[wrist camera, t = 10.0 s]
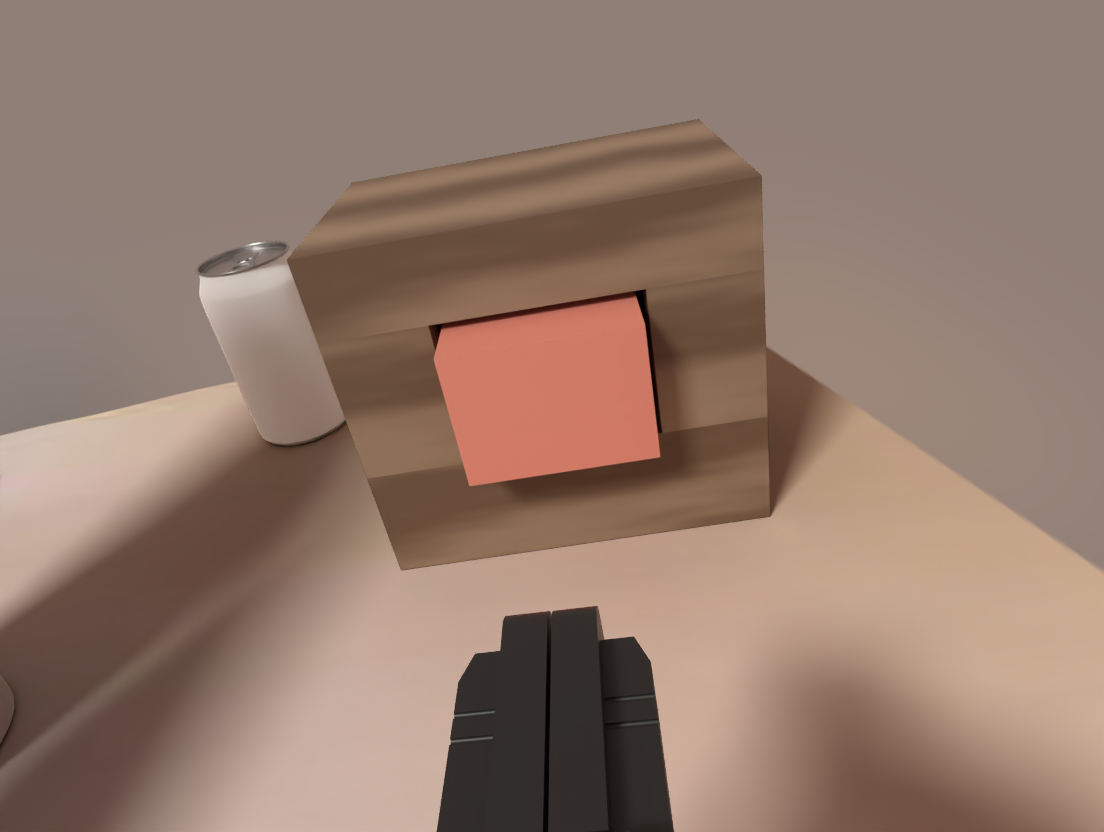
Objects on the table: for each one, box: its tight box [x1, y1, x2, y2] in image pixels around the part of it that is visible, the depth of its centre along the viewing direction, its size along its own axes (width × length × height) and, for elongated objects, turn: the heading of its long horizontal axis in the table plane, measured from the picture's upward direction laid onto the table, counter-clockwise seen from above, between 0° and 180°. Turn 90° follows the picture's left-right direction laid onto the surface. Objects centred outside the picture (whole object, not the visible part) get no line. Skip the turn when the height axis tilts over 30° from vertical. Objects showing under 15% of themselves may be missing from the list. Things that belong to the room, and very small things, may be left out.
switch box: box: [287, 119, 770, 570], centre depth 37 cm, size 12×18×16 cm, turn 91°
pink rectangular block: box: [434, 291, 660, 486], centre depth 32 cm, size 6×8×6 cm
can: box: [196, 241, 346, 446], centre depth 48 cm, size 6×6×12 cm
